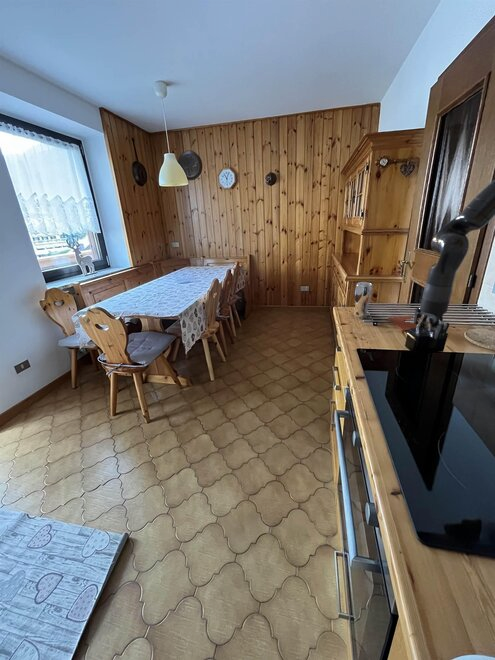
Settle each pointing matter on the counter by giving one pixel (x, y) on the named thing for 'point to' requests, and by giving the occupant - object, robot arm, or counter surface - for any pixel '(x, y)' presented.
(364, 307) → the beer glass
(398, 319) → the mat
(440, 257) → the robot arm
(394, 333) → the counter surface
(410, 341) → the glossy black box
